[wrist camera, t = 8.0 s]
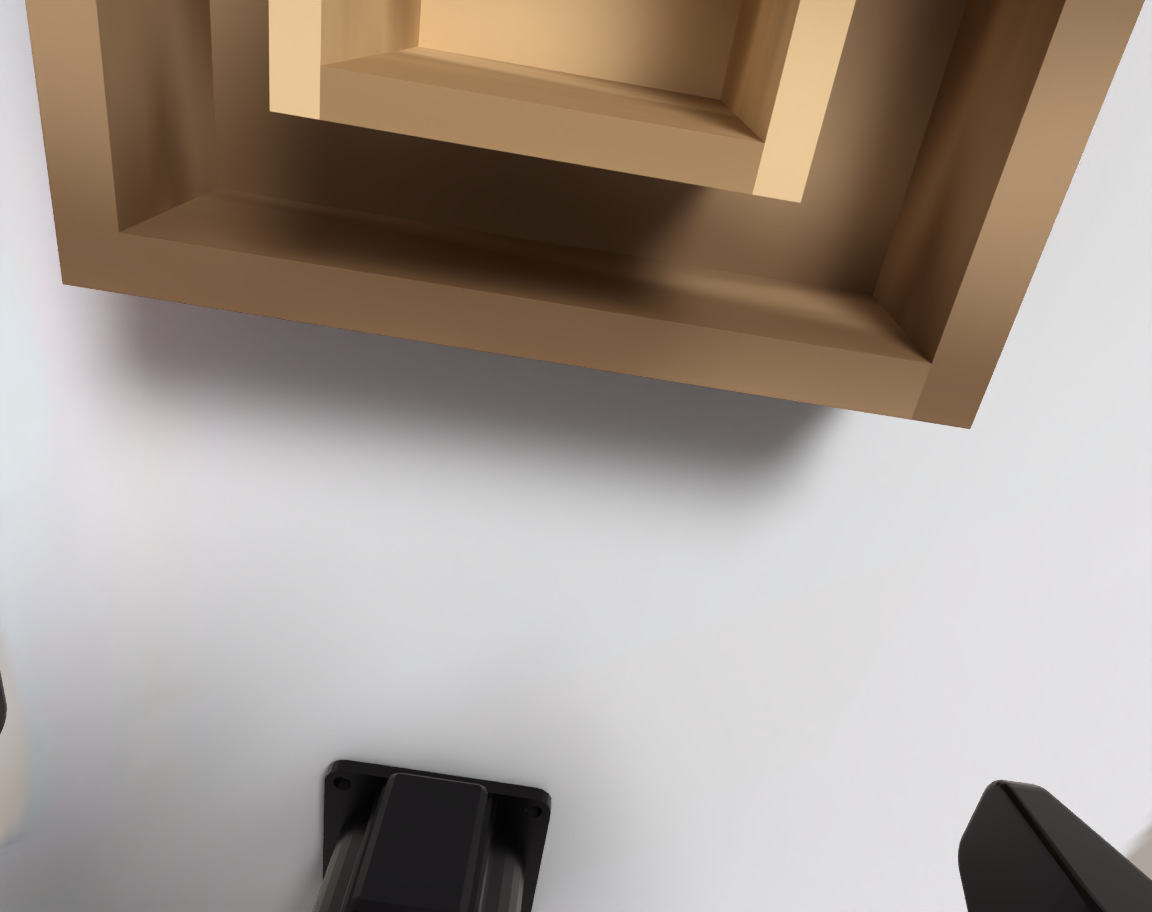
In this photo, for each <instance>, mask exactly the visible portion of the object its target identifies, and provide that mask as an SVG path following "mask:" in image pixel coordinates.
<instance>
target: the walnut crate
mask: <svg viewBox="0 0 1152 912" xmlns="http://www.w3.org/2000/svg"><path fill="white" fill-rule="evenodd" d="M1144 1H1145V0H856V2H855V6H854V10H853V13H852V17H851V21H850V24H849V28H848V31H847V35H846V39H845V42H844V46H843V50H842V53H841V57H840V61H839V64H838V68H837V72H836V75H835V79H834V83H833V86H832V90H831V94H830V97H829V101H828V104H827V108H826V112H825V115H824V119H823V123H822V126H821V130H820V134H819V137H818V141H817V145H816V148H815V152H814V156H813V159H812V163H811V166H810V170H809V174H808V177H807V181H806V185H805V188H804V192H803V196H802V199H801V203H799V202H793V201H787V200H781V199H775V198H770V197H764V196H758V195H752V194H746V193H741V192H735V191H729V190H723V189H718V188H712V187H706V186H700V185H694V184H689V183H683V182H677V181H671V180H665V179H660V178H654V177H648V176H642V175H636V174H631V173H625V172H619V171H613V170H608V169H602V168H596V167H590V166H584V165H579V164H573V163H567V162H561V161H555V160H550V159H544V158H538V157H532V156H527V155H521V154H515V153H509V152H503V151H498V150H492V149H486V148H480V147H474V146H469V145H463V144H457V143H451V142H445V141H440V140H434V139H428V138H422V137H417V136H411V135H405V134H399V133H393V132H388V131H382V130H376V129H370V128H364V127H359V126H353V125H347V124H341V123H335V122H330V121H324V120H318V119H312V118H307V117H301V116H295V115H289V114H283V113H278V112H272V111H270V91H269V0H25V2H26V10H27V17H28V25H29V32H30V40H31V48H32V55H33V63H34V70H35V78H36V85H37V93H38V101H39V108H40V116H41V123H42V131H43V139H44V146H45V154H46V161H47V169H48V176H49V184H50V192H51V199H52V207H53V214H54V222H55V229H56V237H57V245H58V252H59V260H60V267H61V275H62V282H63V284H65V285H72V286H78V287H84V288H90V289H97V290H103V291H109V292H115V293H122V294H128V295H134V296H140V297H147V298H153V299H159V300H165V301H172V302H178V303H184V304H190V305H197V306H203V307H209V308H216V309H222V310H228V311H234V312H241V313H247V314H253V315H259V316H266V317H272V318H278V319H284V320H291V321H297V322H303V323H309V324H316V325H322V326H328V327H334V328H341V329H347V330H353V331H360V332H366V333H372V334H378V335H385V336H391V337H397V338H403V339H410V340H416V341H422V342H428V343H435V344H441V345H447V346H453V347H460V348H466V349H472V350H478V351H485V352H491V353H497V354H504V355H510V356H516V357H522V358H529V359H535V360H541V361H547V362H554V363H560V364H566V365H572V366H579V367H585V368H591V369H597V370H604V371H610V372H616V373H622V374H629V375H635V376H641V377H647V378H654V379H660V380H666V381H673V382H679V383H685V384H691V385H698V386H704V387H710V388H716V389H723V390H729V391H735V392H741V393H748V394H754V395H760V396H766V397H773V398H779V399H785V400H791V401H798V402H804V403H810V404H817V405H823V406H829V407H835V408H842V409H848V410H854V411H860V412H867V413H873V414H879V415H885V416H892V417H898V418H904V419H910V420H917V421H923V422H929V423H935V424H942V425H948V426H954V427H960V428H967V429H970V428H971V426H972V423H973V421H974V418H975V416H976V413H977V411H978V409H979V406H980V404H981V401H982V399H983V396H984V394H985V391H986V389H987V386H988V384H989V382H990V379H991V377H992V374H993V372H994V369H995V367H996V364H997V362H998V359H999V357H1000V355H1001V352H1002V350H1003V347H1004V345H1005V342H1006V340H1007V337H1008V335H1009V332H1010V330H1011V328H1012V325H1013V323H1014V320H1015V318H1016V315H1017V313H1018V310H1019V308H1020V305H1021V303H1022V301H1023V298H1024V296H1025V293H1026V291H1027V288H1028V286H1029V283H1030V281H1031V278H1032V276H1033V274H1034V271H1035V269H1036V266H1037V264H1038V261H1039V259H1040V256H1041V254H1042V251H1043V249H1044V247H1045V244H1046V242H1047V239H1048V237H1049V234H1050V232H1051V229H1052V227H1053V224H1054V222H1055V219H1056V217H1057V215H1058V212H1059V210H1060V207H1061V205H1062V202H1063V200H1064V197H1065V195H1066V192H1067V190H1068V188H1069V185H1070V183H1071V180H1072V178H1073V175H1074V173H1075V170H1076V168H1077V165H1078V163H1079V161H1080V158H1081V156H1082V153H1083V151H1084V148H1085V146H1086V143H1087V141H1088V138H1089V136H1090V134H1091V131H1092V129H1093V126H1094V124H1095V121H1096V119H1097V116H1098V114H1099V111H1100V109H1101V107H1102V104H1103V102H1104V99H1105V97H1106V94H1107V92H1108V89H1109V87H1110V84H1111V82H1112V80H1113V77H1114V75H1115V72H1116V70H1117V67H1118V65H1119V62H1120V60H1121V57H1122V55H1123V53H1124V50H1125V48H1126V45H1127V43H1128V40H1129V38H1130V35H1131V33H1132V30H1133V28H1134V26H1135V23H1136V21H1137V18H1138V16H1139V13H1140V11H1141V8H1142V6H1143V3H1144Z"/></svg>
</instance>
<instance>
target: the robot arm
mask: <svg viewBox="0 0 1152 912" xmlns="http://www.w3.org/2000/svg"><path fill="white" fill-rule="evenodd" d="M6 712H7V705H6V699H5V694H4V688H3V683H2V678H1V673H0V733H1V731H2V729H3V726H4V723H5V719H6ZM342 777H344V778H342ZM345 778H347V779H345ZM551 803H552V802H551V797H550V795H549V794H548V793H547V792H545V791H544V790H542V789H538V788H533V787H526V786H519V785H513V784H506V783H499V782H492V781H485V780H479V779H472V778H465V777H458V776H451V775H445V774H438V773H431V772H424V771H417V770H411V769H404V768H397V767H390V766H383V765H377V764H370V763H363V762H356V761H349V760H339V761H336V762H334V763H333V764H331V765H330V768H329V770H328V773H327V776H326V778H325V793H324V844H323V883H322V886H321V888H320V891H319V894H318V897H317V900H316V903H315V906H314V909H313V912H531V909H532V904H533V899H534V894H535V889H536V884H537V879H538V874H539V869H540V864H541V859H542V854H543V849H544V844H545V839H546V834H547V829H548V824H549V819H550V814H551ZM532 805H535V806H532ZM958 865H959V871H960V876H961V881H962V886H963V890H964V895H965V900H966V905H967V909H968V912H1152V880H1151V879H1150V878H1148V877H1147V876H1146V875H1145V874H1144V873H1143V872H1142V871H1140V870H1139V869H1138V868H1137V867H1136V866H1135V865H1133V864H1132V863H1131V862H1130V861H1129V860H1128V859H1126V858H1125V857H1124V856H1123V855H1122V854H1121V853H1119V852H1118V851H1117V850H1116V849H1115V848H1114V847H1112V846H1111V845H1110V844H1109V843H1108V842H1107V841H1105V840H1104V839H1103V838H1102V837H1101V836H1100V835H1098V834H1097V833H1096V832H1095V831H1094V830H1093V829H1091V828H1090V827H1089V826H1088V825H1087V824H1086V823H1084V822H1083V821H1082V820H1081V819H1080V818H1078V817H1077V816H1076V815H1075V814H1074V813H1073V812H1071V811H1070V810H1069V809H1068V808H1067V807H1066V806H1064V805H1063V804H1062V803H1061V802H1060V801H1059V800H1057V799H1056V798H1055V797H1054V796H1053V795H1052V794H1050V793H1049V792H1048V791H1047V790H1045V789H1044V788H1042V787H1040V786H1037V785H1034V784H1028V783H1021V782H1014V781H1007V780H996V781H994V782H992V783H991V784H989V785H988V786H987V788H986V789H985V791H984V793H983V795H982V797H981V799H980V801H979V803H978V805H977V807H976V809H975V811H974V813H973V815H972V817H971V819H970V821H969V823H968V826H967V828H966V830H965V832H964V834H963V836H962V838H961V841H960V845H959V850H958Z"/></svg>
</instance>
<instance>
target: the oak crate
mask: <svg viewBox="0 0 1152 912" xmlns="http://www.w3.org/2000/svg"><path fill="white" fill-rule="evenodd" d="M855 2H856V0H269V91H270V111H272V112H278V113H283V114H289V115H295V116H301V117H307V118H312V119H318V120H324V121H330V122H335V123H341V124H347V125H353V126H359V127H364V128H370V129H376V130H382V131H388V132H393V133H399V134H405V135H411V136H417V137H422V138H428V139H434V140H440V141H445V142H451V143H457V144H463V145H469V146H474V147H480V148H486V149H492V150H498V151H503V152H509V153H515V154H521V155H527V156H532V157H538V158H544V159H550V160H555V161H561V162H567V163H573V164H579V165H584V166H590V167H596V168H602V169H608V170H613V171H619V172H625V173H631V174H636V175H642V176H648V177H654V178H660V179H665V180H671V181H677V182H683V183H689V184H694V185H700V186H706V187H712V188H718V189H723V190H729V191H735V192H741V193H746V194H752V195H758V196H764V197H770V198H775V199H781V200H787V201H793V202H799V203H801V199H802V196H803V192H804V188H805V185H806V181H807V177H808V174H809V170H810V166H811V163H812V159H813V156H814V152H815V148H816V145H817V141H818V137H819V134H820V130H821V126H822V123H823V119H824V115H825V112H826V108H827V104H828V101H829V97H830V94H831V90H832V86H833V83H834V79H835V75H836V72H837V68H838V64H839V61H840V57H841V53H842V50H843V46H844V42H845V39H846V35H847V31H848V28H849V24H850V21H851V17H852V13H853V10H854V6H855Z"/></svg>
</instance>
